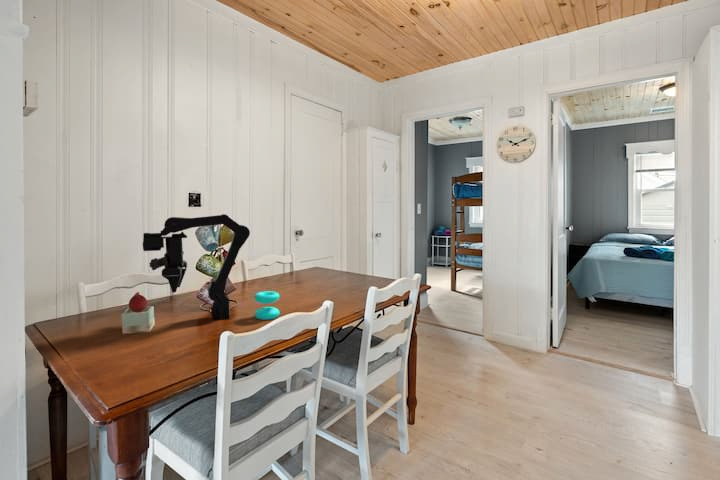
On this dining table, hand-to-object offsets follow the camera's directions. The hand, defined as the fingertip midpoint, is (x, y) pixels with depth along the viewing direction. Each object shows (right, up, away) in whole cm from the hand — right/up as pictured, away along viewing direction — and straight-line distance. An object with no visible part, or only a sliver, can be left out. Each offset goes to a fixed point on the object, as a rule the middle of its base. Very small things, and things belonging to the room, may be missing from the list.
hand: (176, 289), depth 145 cm
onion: (-10, -8, -7) cm, 15 cm away
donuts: (+33, -13, +9) cm, 37 cm away
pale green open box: (-10, -11, -7) cm, 17 cm away
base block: (-10, -14, -7) cm, 19 cm away
